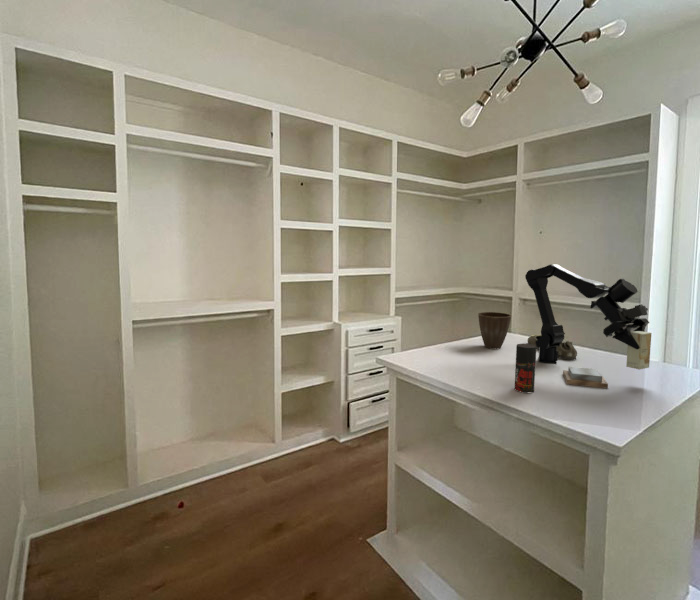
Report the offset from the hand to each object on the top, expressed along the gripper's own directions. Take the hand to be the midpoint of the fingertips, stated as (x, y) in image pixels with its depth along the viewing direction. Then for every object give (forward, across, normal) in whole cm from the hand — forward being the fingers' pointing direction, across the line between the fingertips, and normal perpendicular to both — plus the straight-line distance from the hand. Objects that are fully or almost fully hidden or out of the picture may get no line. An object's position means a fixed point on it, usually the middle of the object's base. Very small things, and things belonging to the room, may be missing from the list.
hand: (643, 347), depth 133 cm
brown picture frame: (+1, -12, +18) cm, 22 cm away
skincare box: (+4, 0, +6) cm, 8 cm away
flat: (-22, +18, +43) cm, 51 cm away
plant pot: (-35, 0, +55) cm, 65 cm away
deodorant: (-2, -38, +21) cm, 44 cm away
